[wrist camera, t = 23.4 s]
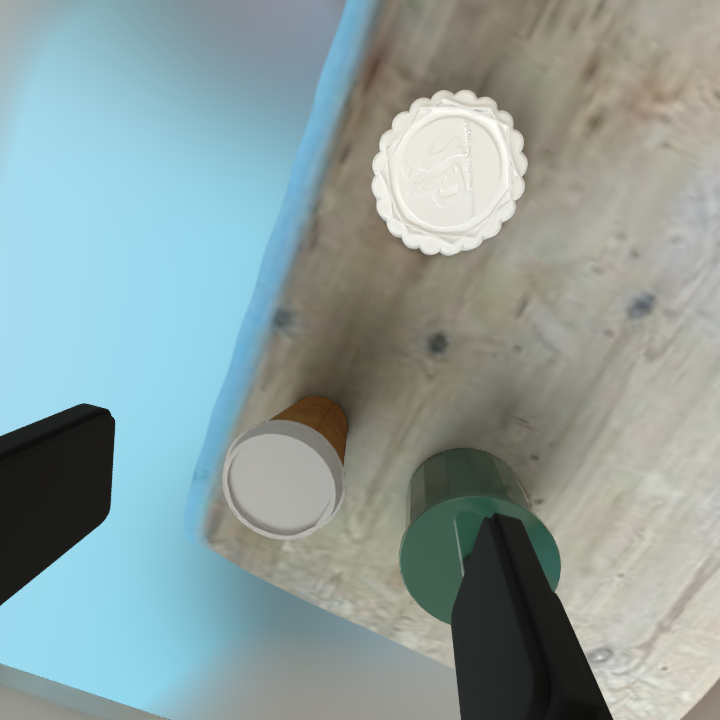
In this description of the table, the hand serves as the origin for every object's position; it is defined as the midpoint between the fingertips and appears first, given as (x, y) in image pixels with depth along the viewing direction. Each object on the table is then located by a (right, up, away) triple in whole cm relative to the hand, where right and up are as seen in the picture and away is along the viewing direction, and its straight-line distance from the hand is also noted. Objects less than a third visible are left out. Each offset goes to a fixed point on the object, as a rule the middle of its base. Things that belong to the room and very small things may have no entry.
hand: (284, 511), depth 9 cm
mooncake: (+9, +19, +24) cm, 32 cm away
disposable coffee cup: (-3, -3, +31) cm, 31 cm away
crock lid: (+11, -13, +22) cm, 28 cm away
